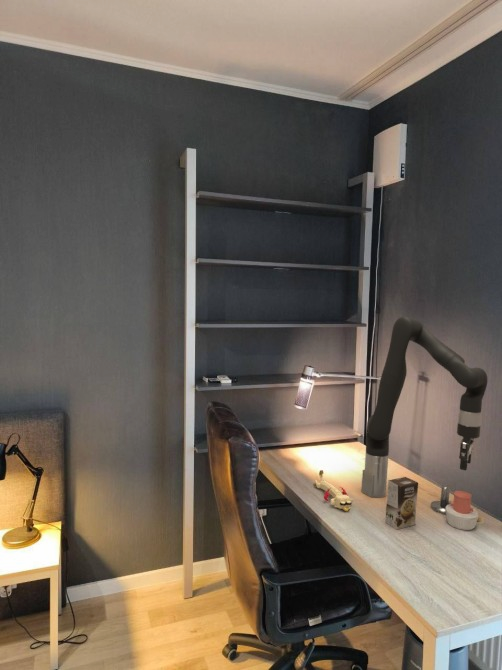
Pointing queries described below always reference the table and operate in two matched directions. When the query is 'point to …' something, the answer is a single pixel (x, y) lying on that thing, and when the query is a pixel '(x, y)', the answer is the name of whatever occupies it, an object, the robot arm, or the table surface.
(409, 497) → the coffee box
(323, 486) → the cream toy dragon
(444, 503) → the grey lamp
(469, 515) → the ramekin
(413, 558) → the table surface
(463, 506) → the cap
